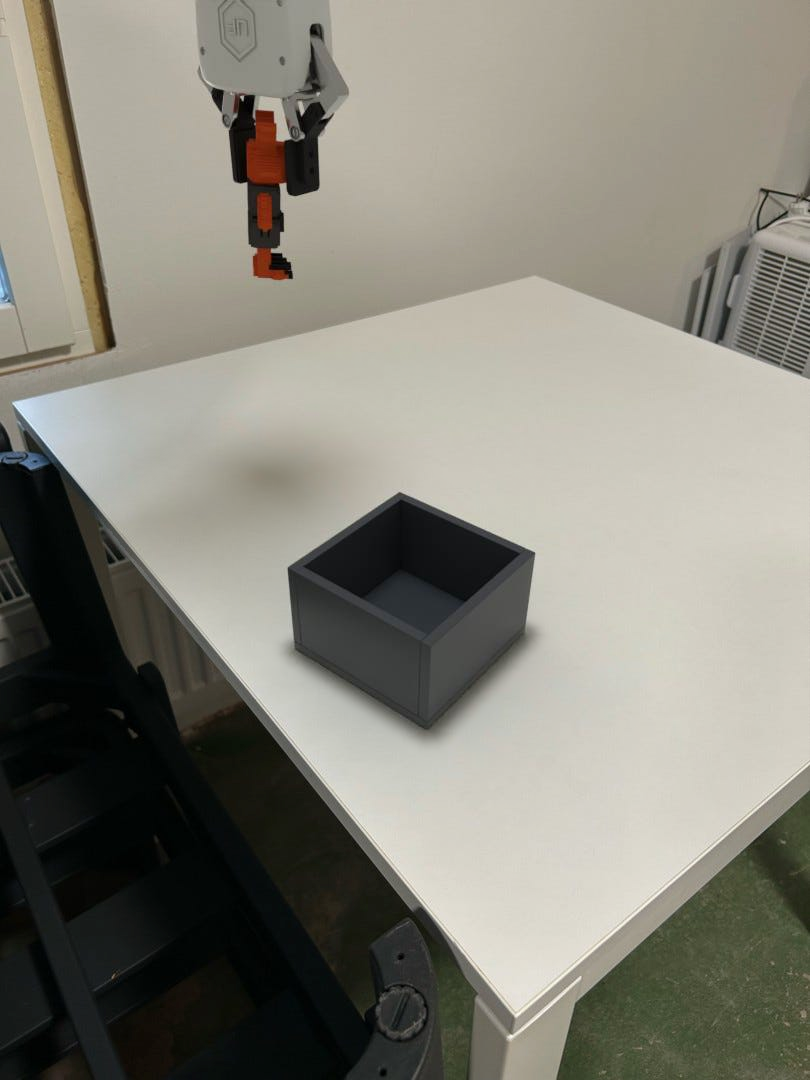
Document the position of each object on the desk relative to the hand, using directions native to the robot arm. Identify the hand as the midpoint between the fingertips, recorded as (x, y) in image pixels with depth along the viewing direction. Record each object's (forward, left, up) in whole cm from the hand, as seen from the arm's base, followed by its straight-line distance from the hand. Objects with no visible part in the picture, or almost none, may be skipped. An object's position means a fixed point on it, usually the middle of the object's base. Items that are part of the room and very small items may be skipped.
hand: (276, 184), depth 67 cm
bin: (+24, -12, -27) cm, 38 cm away
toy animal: (0, 0, -7) cm, 7 cm away
